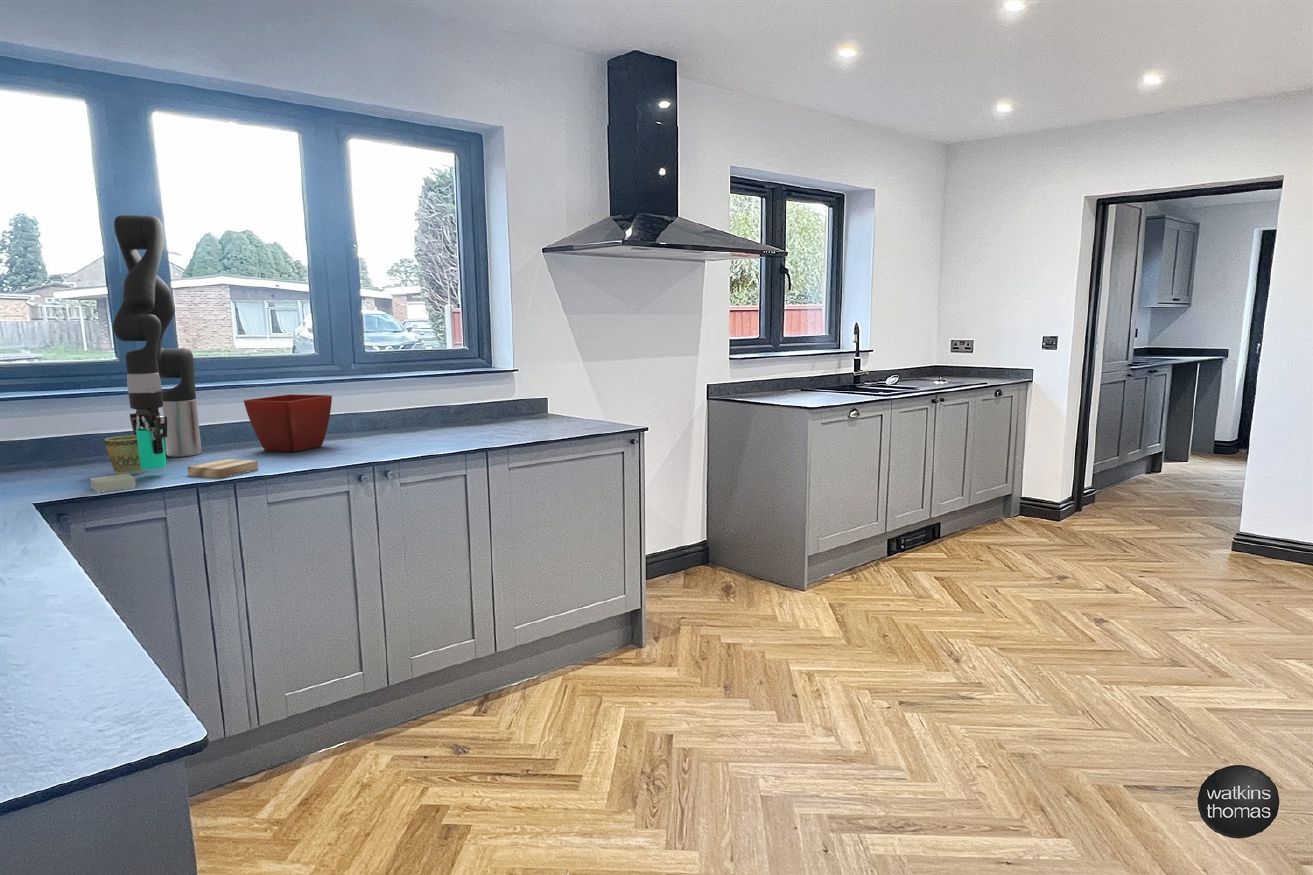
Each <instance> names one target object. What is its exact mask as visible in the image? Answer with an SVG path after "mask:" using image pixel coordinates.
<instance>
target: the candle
mask: <svg viewBox="0 0 1313 875" xmlns="http://www.w3.org/2000/svg"><path fill="white" fill-rule="evenodd" d="M154 433H155V431H154ZM162 433H163V429H162ZM136 435H137V443H138V451H139V459H140V467H141V469H145V470H157V469H162V468H166V467H167V458H166V455H167V454H166V446H165V438H163V439H162V444H163V453H160V454H154V453H153V445H152V437H151V435H150V433H149V432H147V430H143V431H142V430H138V429H136Z"/></svg>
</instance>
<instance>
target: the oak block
mask: <svg viewBox="0 0 1313 875" xmlns="http://www.w3.org/2000/svg"><path fill="white" fill-rule="evenodd" d="M247 471H252V472H256V471H259V464H258V461H257V460H249V459H248V460H246V459H229V458H224V459H219V460H213V461H210V462H204V463H199V464H194V465H189V466H187V476H188V475H189V476H188V477H198V476H200V477H201V478H211V477H219V478H218V479H223V478H222V477H226V476H230V475H234V474H238V473H243V472H247ZM247 473H248V472H247ZM243 474H244V473H243ZM234 476H235V475H234ZM230 477H231V476H230ZM226 478H227V477H226Z"/></svg>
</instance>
